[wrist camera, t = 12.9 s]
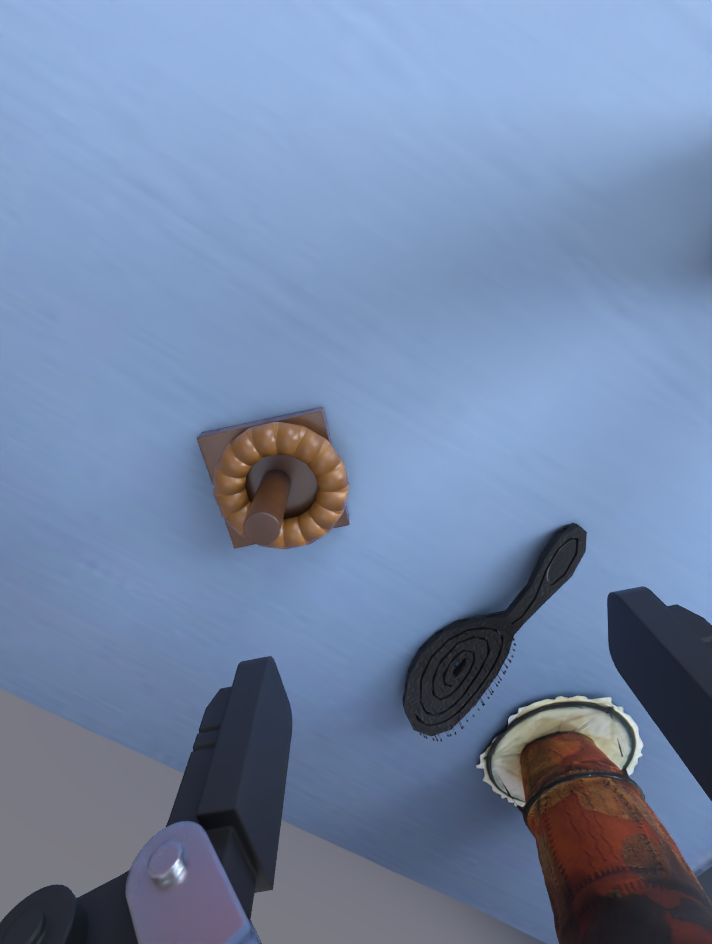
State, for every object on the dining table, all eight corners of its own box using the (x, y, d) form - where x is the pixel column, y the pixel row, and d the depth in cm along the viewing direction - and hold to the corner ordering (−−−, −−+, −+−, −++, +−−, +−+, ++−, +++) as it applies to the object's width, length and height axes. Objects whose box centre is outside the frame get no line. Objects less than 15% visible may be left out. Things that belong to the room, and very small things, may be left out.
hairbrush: (630, 561, 40) (456, 757, 46) (605, 542, 44) (446, 726, 49) (558, 514, 38) (386, 724, 44) (539, 498, 42) (381, 694, 48)
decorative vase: (419, 794, 53) (499, 1273, 27) (540, 649, 47) (799, 1097, 21) (563, 846, 58) (752, 1304, 31) (693, 719, 51) (1069, 1166, 25)
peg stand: (323, 406, 37) (319, 441, 29) (349, 517, 41) (352, 578, 32) (201, 432, 38) (160, 474, 29) (237, 540, 41) (210, 606, 32)
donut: (330, 406, 36) (330, 413, 34) (359, 525, 40) (361, 538, 37) (199, 435, 36) (190, 444, 34) (240, 550, 40) (234, 565, 38)
